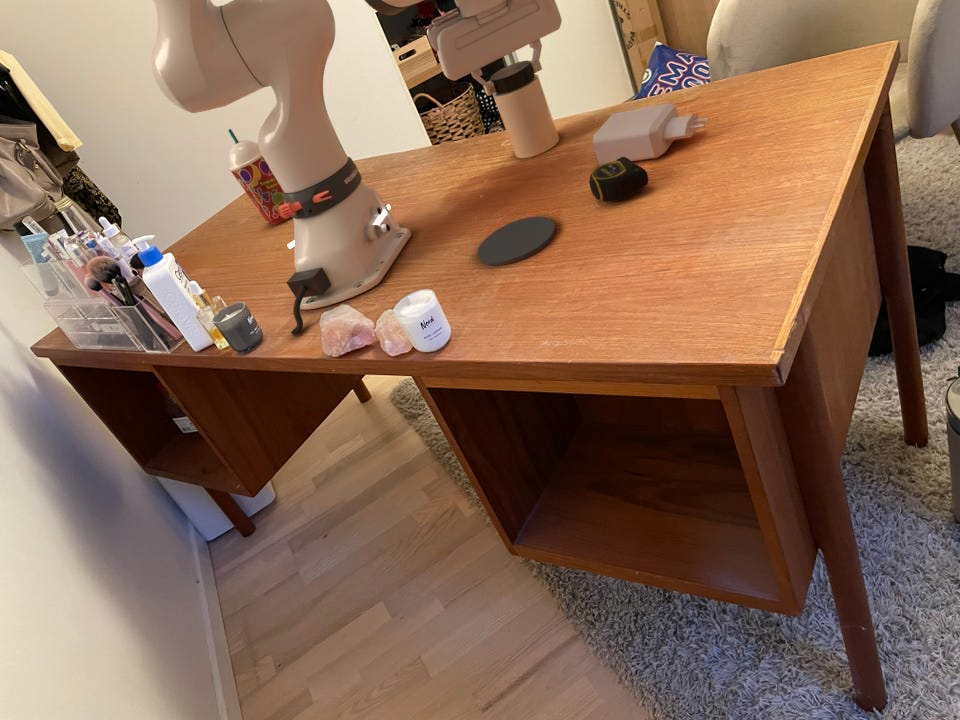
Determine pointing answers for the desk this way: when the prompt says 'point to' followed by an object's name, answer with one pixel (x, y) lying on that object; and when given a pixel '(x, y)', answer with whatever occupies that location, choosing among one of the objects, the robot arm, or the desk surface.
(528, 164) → the desk surface
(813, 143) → the desk surface
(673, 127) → the charger
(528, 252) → the coaster
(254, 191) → the smoothie
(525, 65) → the lid
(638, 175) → the tape measure
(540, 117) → the jar
